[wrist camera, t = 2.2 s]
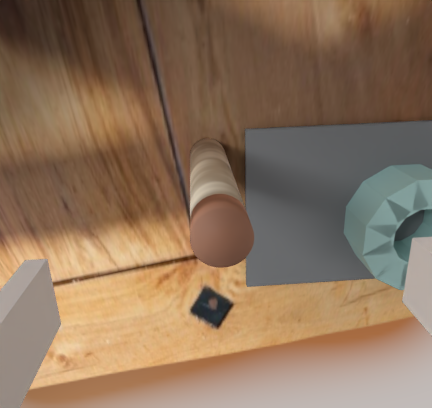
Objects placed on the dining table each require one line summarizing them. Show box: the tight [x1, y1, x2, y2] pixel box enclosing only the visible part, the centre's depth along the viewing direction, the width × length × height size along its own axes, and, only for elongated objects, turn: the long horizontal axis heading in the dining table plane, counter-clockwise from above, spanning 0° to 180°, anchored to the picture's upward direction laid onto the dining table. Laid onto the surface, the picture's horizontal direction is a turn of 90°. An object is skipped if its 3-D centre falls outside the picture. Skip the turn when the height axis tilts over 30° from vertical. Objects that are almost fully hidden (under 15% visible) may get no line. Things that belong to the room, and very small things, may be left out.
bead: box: [344, 164, 432, 290], centre depth 31 cm, size 9×9×4 cm
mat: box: [245, 120, 432, 287], centre depth 33 cm, size 20×14×1 cm
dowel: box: [190, 138, 254, 267], centre depth 24 cm, size 3×3×15 cm
